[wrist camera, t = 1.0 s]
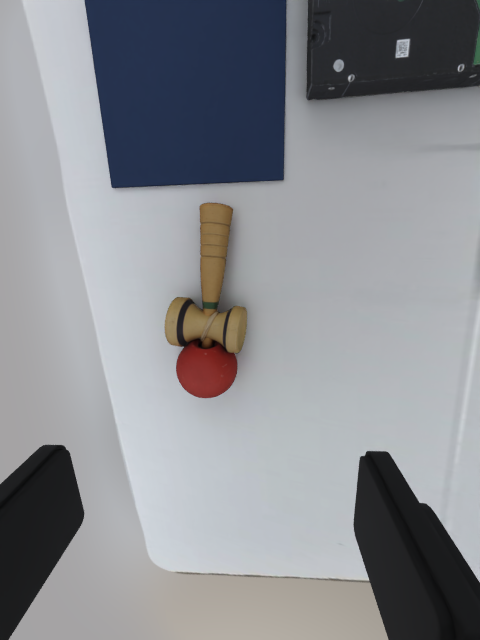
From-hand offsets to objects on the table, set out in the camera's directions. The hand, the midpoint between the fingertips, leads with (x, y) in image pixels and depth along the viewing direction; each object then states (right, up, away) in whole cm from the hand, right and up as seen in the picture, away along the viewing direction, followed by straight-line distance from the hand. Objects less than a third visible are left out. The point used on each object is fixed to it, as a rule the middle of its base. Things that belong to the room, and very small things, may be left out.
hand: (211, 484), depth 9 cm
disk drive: (+13, +29, +13) cm, 34 cm away
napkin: (-3, +27, +14) cm, 31 cm away
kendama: (-2, +7, +20) cm, 21 cm away
